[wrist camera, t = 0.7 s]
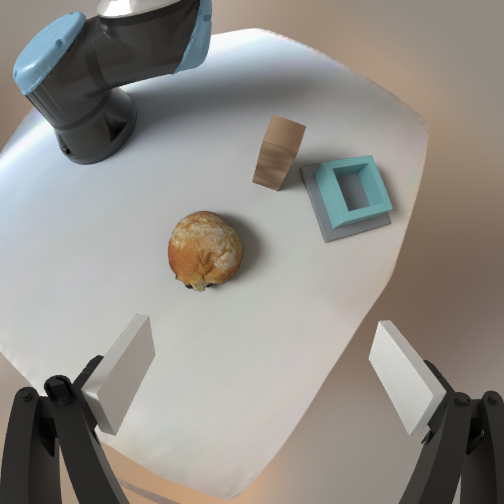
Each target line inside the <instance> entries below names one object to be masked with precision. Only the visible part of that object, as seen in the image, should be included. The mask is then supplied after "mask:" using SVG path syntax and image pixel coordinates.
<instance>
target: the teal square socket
mask: <svg viewBox="0 0 504 504" xmlns="http://www.w3.org/2000/svg"><path fill="white" fill-rule="evenodd" d="M300 172H301V174H302V177H303V180H304V183H305V185H306V188H307V191H308V194H309V197H310V199H311V202H312V205H313V208H314V211H315V214H316V217H317V220H318V223H319V226H320V229H321V232H322V236H323V239H324V242H329V241H332V240H336V239H339V238H343V237H346V236H350V235H353V234H357V233H360V232H364V231H367V230H371V229H374V228H377V227H381V226H384V225H387V224H390V221H389V218H388V215H387V212H389V211H390V210H392V209H393V207H392V204H391V202H390V199H389V196H388V194H387V191H386V188H385V186H384V183H383V181H382V178H381V176H380V173H379V171H378V169H377V166H376V164H375V162H374V159H373V157H372V155H369V156H361V157H354V158H347V159H340V160H333V161H327V162H322V163H319V164H313V165H307V166H301V168H300Z"/></svg>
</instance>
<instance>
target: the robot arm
mask: <svg viewBox="0 0 504 504" xmlns="http://www.w3.org/2000/svg"><path fill="white" fill-rule="evenodd" d="M97 13H98V16H95V17H93V18H90V19H87V20H86V16H85V15H84V14H82V13H81V12H75V13H69V14H66V15H64V16H62V17H60V18H59V19H57V20H55V21H54V22H52V23H51V24H50V25H48V26H47V27H45V28H44V29H43V30H42V31H41V32H39V33H38V34H37V35H36V36H35V37H34V38H33V39H32V40H31V41H30V43H29V44H28V45H27V46H26V47H25V48H24V50H23V51H22V53H21V54H20V56H19V57H18V59H17V61H16V63H15V66H14V70H13V78H14V80H15V82H16V83H17V84H18V86H19V88H20V89H21V92H22V94H23V95H25V96H26V97H27V98H28V100H29V101H30V102H31V103H32V104H33V105H34V106H35V108H36V109H37V110H38V111H39V112H40V113H41V114H42V115H43V116H44V118H45V119H46V120H47V121H48V122H49V123H50V124H51V125H52V126H53V128H54V131H55V134H56V137H57V140H58V143H59V146H60V149H61V151H62V152H63V153H64V155H66V156H67V157H68V158H69V159H70V160H71V161H72V162H74V163H77V164H84V165H85V164H92V163H96V162H99V161H101V160H103V159H105V158H107V157H109V156H110V155H112V154H113V153H114V152H116V151H117V150H118V149H119V148H120V147H121V146H122V145H123V144H124V143H125V142H126V140H127V139H128V138H129V136H130V135H131V133H132V131H133V129H134V126H135V123H136V116H137V115H136V109H135V106H134V104H133V101H132V99H131V98H130V97H129V95H128V94H127V93H125V92H124V91H123V90H122V89H120V88H119V87H120V86H123V85H127V84H130V83H134V82H138V81H141V80H145V79H149V78H154V77H158V76H162V75H167V74H175V73H177V72H179V71H183V70H188V69H193V68H196V67H198V66H199V65H201V64H202V63H203V62H204V60H205V59H206V56H207V54H208V50H209V45H210V38H211V25H212V22H211V15H212V3H211V0H102V1H101V2H100V4H99V6H98V7H97ZM154 356H155V350H154V344H153V338H152V332H151V326H150V319H149V315H139V314H137V315H136V316H135V317H134V319H133V320H132V321H131V322H130V324H129V325H128V326H127V328H126V329H125V330H124V331H123V333H122V334H121V335H120V337H119V338H118V339H117V341H116V342H115V343H114V345H113V346H112V347H111V349H110V350H109V351H108V353H107V354H106V355H105V356H100V355H98V356H96V357H95V358H93V359H91V360H90V361H89V363H88V364H87V365H86V368H84V369H83V371H82V373H80V374H79V376H78V377H77V378H76V380H75V381H74V382H73V384H71V382H70V380H69V378H67V377H66V376H63V375H55V376H53V377H50V378H49V379H48V380H46V382H45V383H44V389H45V391H46V393H47V395H48V397H46V396H39V394H38V392H37V391H36V389H34V388H33V387H24V388H22V389H20V390H19V391H18V392H17V393H16V395H15V398H14V402H13V406H12V410H11V414H10V419H9V423H8V428H7V433H6V438H5V445H4V451H3V458H2V467H1V480H0V504H62V500H61V488H60V471H59V470H60V468H59V443H60V447H61V451H62V455H63V458H64V461H65V465H66V468H67V471H68V474H69V477H70V480H71V483H72V485H73V489H74V491H75V494H76V496H77V499H78V501H79V504H130V503H129V501H128V500H127V498H126V496H125V494H124V493H123V491H122V489H121V487H120V485H119V483H118V481H117V479H116V477H115V475H114V473H113V471H112V469H111V467H110V465H109V463H108V460H107V458H106V456H105V454H104V451H103V449H102V447H101V444H100V442H99V439H98V437H97V434H96V432H95V430H94V429H95V427H96V425H97V424H98V426H99V428H100V430H101V431H102V432H105V433H108V434H112V435H115V436H116V434H117V432H118V430H119V428H120V426H121V423H122V421H123V419H124V417H125V415H126V413H127V411H128V409H129V407H130V404H131V402H132V400H133V398H134V396H135V394H136V392H137V390H138V388H139V386H140V384H141V382H142V380H143V378H144V376H145V374H146V372H147V370H148V368H149V366H150V364H151V362H152V360H153V358H154ZM369 360H370V362H371V364H372V366H373V368H374V369H375V371H376V373H377V375H378V377H379V378H380V380H381V382H382V384H383V386H384V388H385V390H386V391H387V393H388V395H389V397H390V399H391V401H392V403H393V405H394V407H395V409H396V410H397V412H398V414H399V416H400V418H401V420H402V422H403V424H404V426H405V428H406V430H407V432H408V434H409V436H412V435H415V434H418V433H422V432H423V430H424V429H425V427H426V426H427V424H428V426H429V428H430V430H429V432H428V433H427V435H426V436H425V438H424V439H423V440H422V442H421V443H422V444H423V443H424V441H425V443H424V446H423V448H422V451H421V454H420V457H419V459H418V462H417V464H416V467H415V469H414V472H413V474H412V476H411V479H410V481H409V483H408V486H407V488H406V490H405V492H404V494H403V496H402V498H401V500H400V502H399V504H452V502H453V499H454V496H455V493H456V489H457V486H458V482H459V479H460V475H461V494H460V504H504V403H503V400H502V397H501V396H500V395H499V394H498V393H497V392H495V391H487V392H485V394H484V395H483V397H482V398H481V399H473V400H471V398H470V397H469V396H468V395H467V394H464V393H462V392H455V391H454V390H453V389H452V387H451V386H450V385H449V383H448V382H447V381H446V380H445V378H444V377H442V374H441V373H440V372H438V369H437V368H436V367H435V366H434V365H433V364H432V363H430V362H429V361H427V360H424V361H423V360H422V359H421V358H420V356H419V355H418V354H417V353H416V351H415V350H414V349H413V348H412V347H411V345H410V344H409V343H408V341H407V340H406V339H405V338H404V337H403V335H402V334H401V333H400V332H399V331H398V329H397V328H396V327H395V326H394V325H393V324H392V322H391V321H390V320H388V321H379V323H378V327H377V331H376V335H375V339H374V342H373V345H372V349H371V352H370V356H369ZM483 431H484V434H483Z"/></svg>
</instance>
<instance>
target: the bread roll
mask: <svg viewBox="0 0 504 504" xmlns="http://www.w3.org/2000/svg"><path fill="white" fill-rule="evenodd" d="M242 255H243V247H242V243H241V240H240V238H239V236H238V234H237V232H236V231H235V229H234V228H233V227H231V226H229V225H228V223H226V222H225V221H224V220H223V219H222V218H221V217H220V216H219V215H217V214H215V213H213V212H209V211H199V212H196V213H193V214H190V215H188V216H187V217H185V218H183V219H182V220H181V221H180V222H179V223H178V224H177V226H176V228H175V229H174V231H173V234H172V236H171V238H170V240H169V246H168V257H169V264H170V267H171V269H172V271H173V272H174V273H175V274H176V279H177V280H180V281H182V282H183V283H184V284H185V286H186V287H187V288H189V289H194V290H197V291H200V292H201V291H204V290H205V287H210V286H211V285H212V284H214V283H217V284H220V283H221V284H223V283H224V282H225V281H226V280H229V279H230V278H231V277H232V276H233V275H234V274H235V273H236V271H237V270H238V268H239V264H240V262H241V259H242Z"/></svg>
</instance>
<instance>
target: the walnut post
mask: <svg viewBox="0 0 504 504" xmlns="http://www.w3.org/2000/svg"><path fill="white" fill-rule="evenodd" d="M305 128H306V126H304V125H301V124H298V123H296V122H293V121H290V120H288V119H285V118H282V117H279V116H276V115H273V117H272V119H271V122H270V124H269V127H268V129H267V131H266V134H265V136H264V139H263V142H262V146H261V150H260V154H259V158H258V162H257V166H256V170H255V174H254V178H253V182H254V183H256V184H259V185H262V186H265V187H268V188H270V189H273V190H276V191H278V190H279V188H280V186H281V184H282V182H283V180H284V178H285V176H286V174H287V172H288V170H289V168H290V166H291V165H292V163H293V161H294V159H295V157H296V155H297V153H298V150H299V147H300V144H301V141H302V137H303V134H304V131H305Z"/></svg>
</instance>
